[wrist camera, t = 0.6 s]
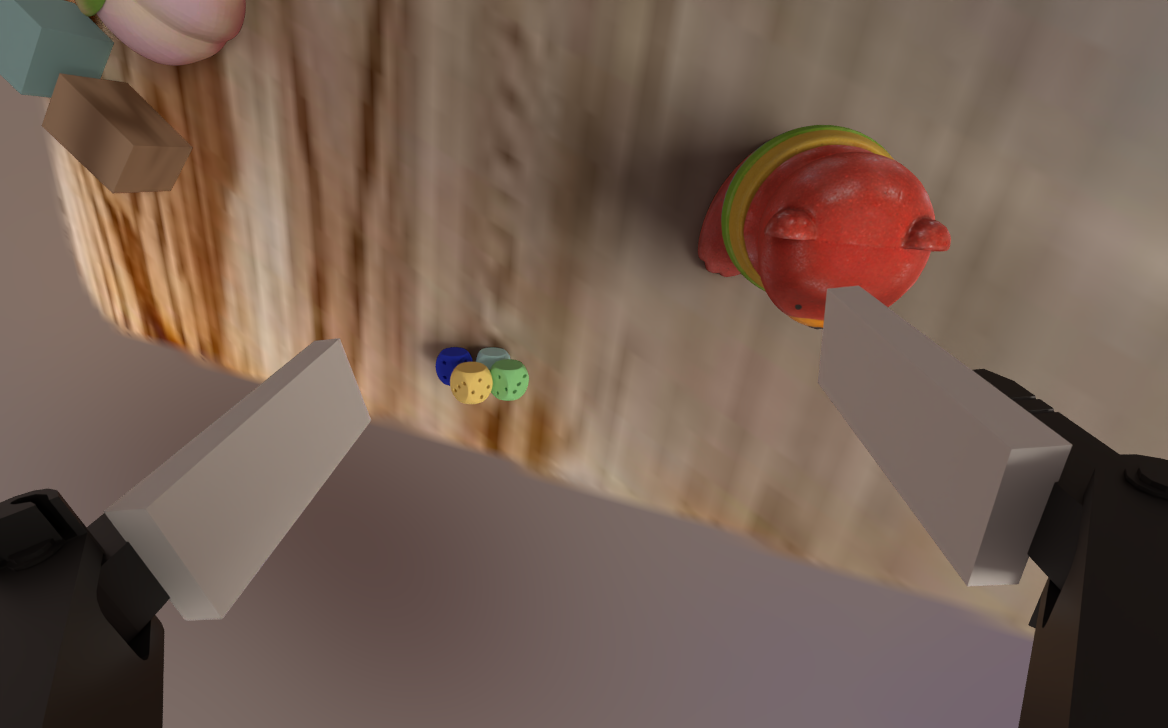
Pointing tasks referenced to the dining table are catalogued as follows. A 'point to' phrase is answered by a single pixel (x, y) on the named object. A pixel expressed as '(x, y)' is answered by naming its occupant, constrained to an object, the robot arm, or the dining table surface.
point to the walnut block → (115, 134)
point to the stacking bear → (821, 221)
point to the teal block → (48, 44)
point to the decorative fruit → (170, 26)
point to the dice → (481, 374)
